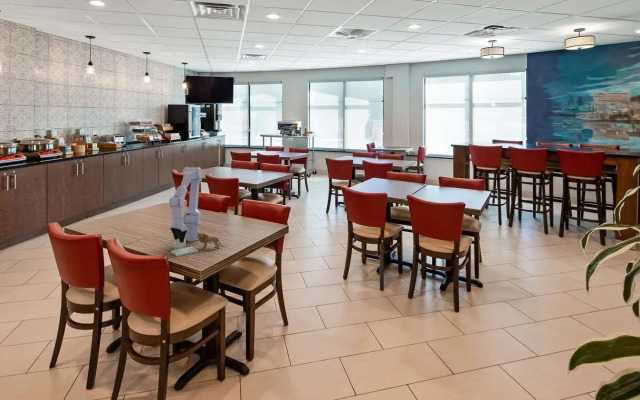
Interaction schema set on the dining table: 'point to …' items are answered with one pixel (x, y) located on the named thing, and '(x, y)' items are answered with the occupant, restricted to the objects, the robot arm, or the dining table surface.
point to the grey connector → (178, 244)
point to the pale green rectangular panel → (184, 251)
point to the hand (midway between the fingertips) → (179, 240)
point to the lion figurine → (208, 239)
